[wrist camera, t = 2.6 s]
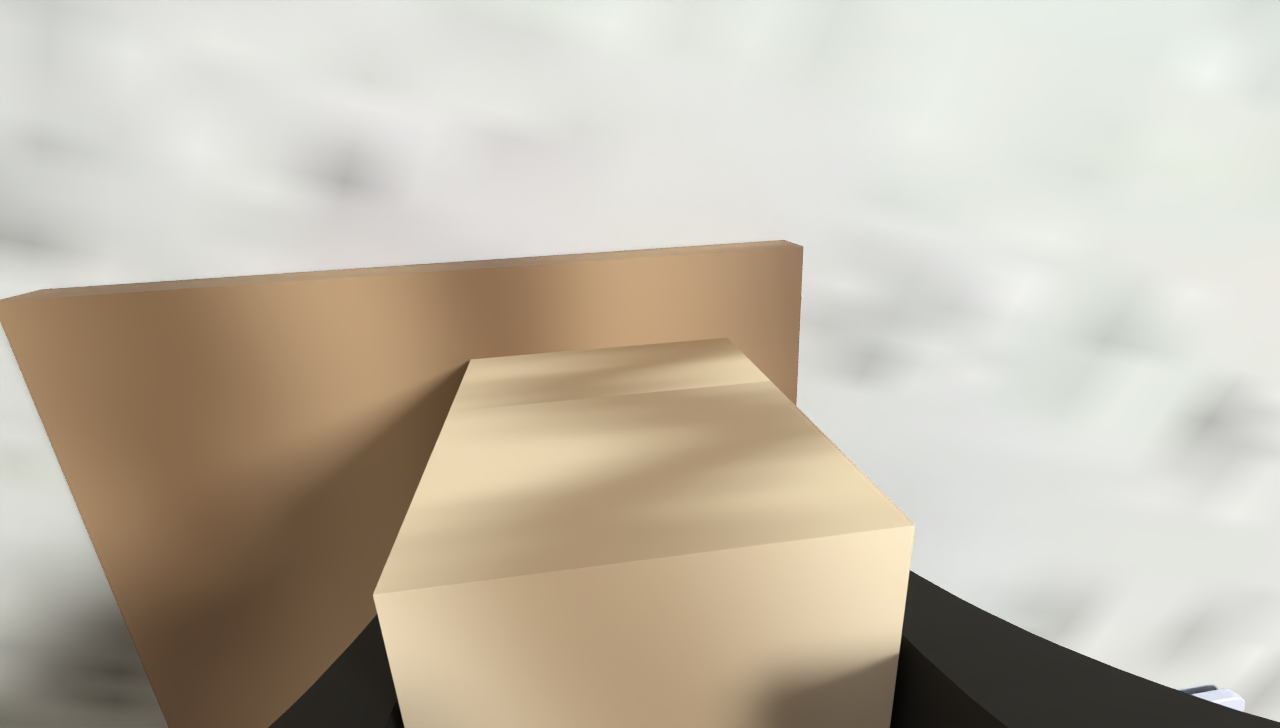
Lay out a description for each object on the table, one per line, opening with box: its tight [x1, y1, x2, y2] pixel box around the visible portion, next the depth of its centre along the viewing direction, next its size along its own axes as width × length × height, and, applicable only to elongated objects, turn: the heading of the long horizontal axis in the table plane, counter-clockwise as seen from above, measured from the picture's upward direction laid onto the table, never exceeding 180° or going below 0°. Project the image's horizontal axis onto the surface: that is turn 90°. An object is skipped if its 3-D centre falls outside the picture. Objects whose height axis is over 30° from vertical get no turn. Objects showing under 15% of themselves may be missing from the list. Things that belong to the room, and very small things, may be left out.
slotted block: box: [373, 338, 915, 728], centre depth 10 cm, size 5×7×6 cm
